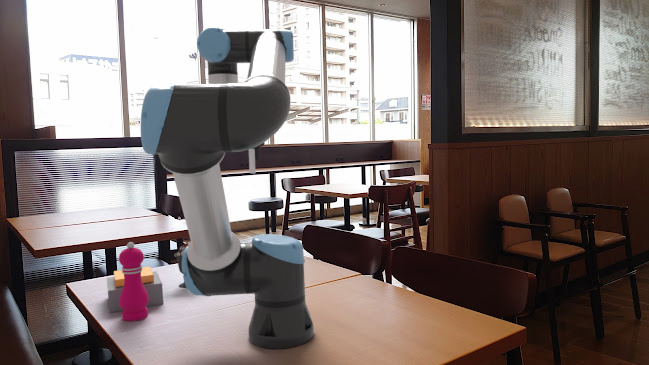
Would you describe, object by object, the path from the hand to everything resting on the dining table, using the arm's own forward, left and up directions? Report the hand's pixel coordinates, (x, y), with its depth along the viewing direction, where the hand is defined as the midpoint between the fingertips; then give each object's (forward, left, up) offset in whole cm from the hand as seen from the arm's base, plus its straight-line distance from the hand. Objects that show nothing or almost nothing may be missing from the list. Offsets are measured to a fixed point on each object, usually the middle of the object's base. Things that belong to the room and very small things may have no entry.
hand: (227, 174), depth 132 cm
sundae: (+30, +7, -37) cm, 48 cm away
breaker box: (+22, +23, -37) cm, 49 cm away
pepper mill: (+8, +24, -37) cm, 45 cm away
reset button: (+22, +23, -35) cm, 48 cm away
